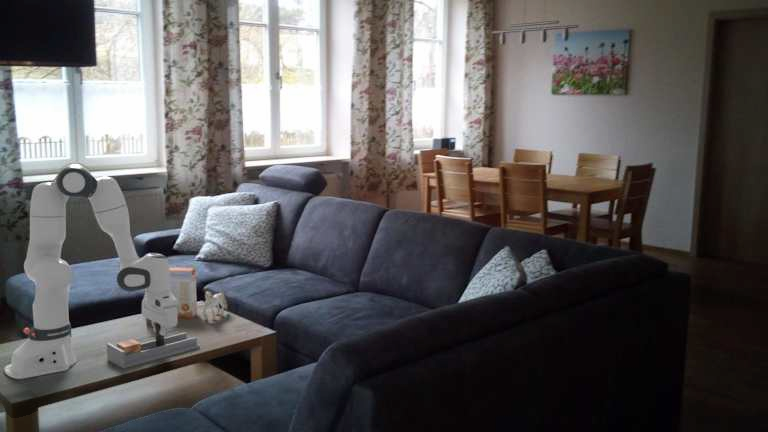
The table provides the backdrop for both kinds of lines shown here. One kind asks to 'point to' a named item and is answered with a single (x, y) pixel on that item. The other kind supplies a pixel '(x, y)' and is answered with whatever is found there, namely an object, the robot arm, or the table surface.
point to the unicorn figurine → (214, 303)
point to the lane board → (151, 350)
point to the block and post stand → (135, 346)
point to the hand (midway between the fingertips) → (159, 333)
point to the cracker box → (184, 290)
